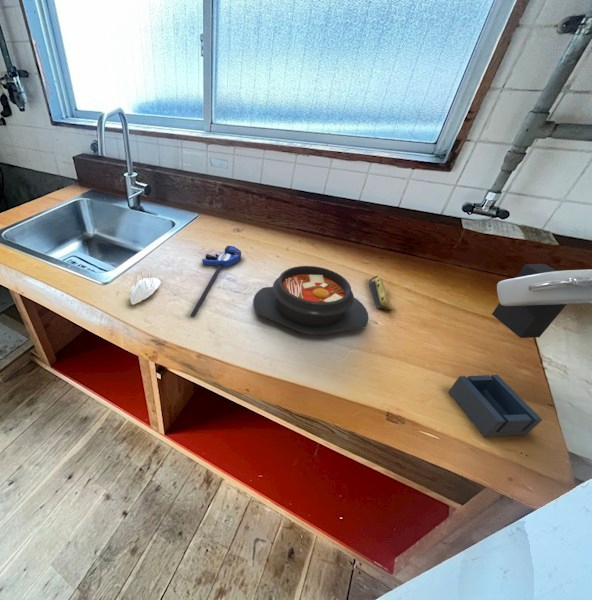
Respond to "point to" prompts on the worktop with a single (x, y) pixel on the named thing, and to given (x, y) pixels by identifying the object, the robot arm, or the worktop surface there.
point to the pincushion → (143, 289)
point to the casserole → (311, 302)
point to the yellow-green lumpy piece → (379, 293)
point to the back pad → (529, 310)
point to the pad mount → (493, 406)
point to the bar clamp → (219, 267)
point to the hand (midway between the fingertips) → (530, 296)
